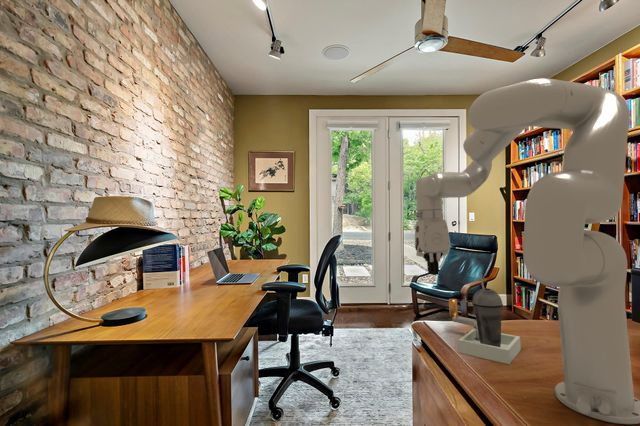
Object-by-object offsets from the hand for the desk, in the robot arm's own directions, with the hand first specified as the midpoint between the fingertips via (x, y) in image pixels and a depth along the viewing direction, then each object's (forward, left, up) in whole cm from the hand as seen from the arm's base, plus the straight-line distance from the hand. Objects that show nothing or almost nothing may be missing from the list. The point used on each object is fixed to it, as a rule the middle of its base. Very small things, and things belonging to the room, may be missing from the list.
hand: (433, 274), depth 97 cm
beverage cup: (-4, -16, -18) cm, 25 cm away
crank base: (+4, -12, -19) cm, 22 cm away
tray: (-4, -16, -19) cm, 25 cm away
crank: (+4, -8, -15) cm, 18 cm away
